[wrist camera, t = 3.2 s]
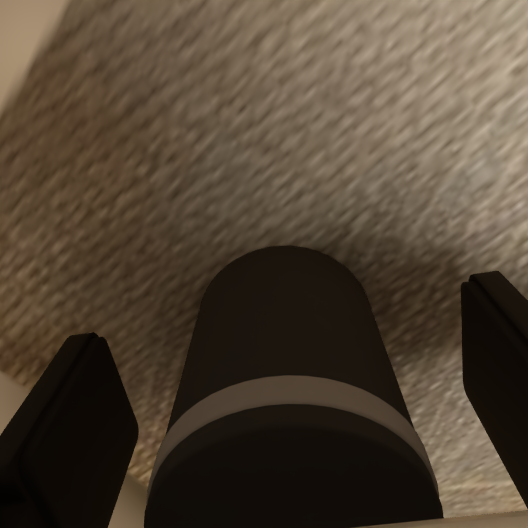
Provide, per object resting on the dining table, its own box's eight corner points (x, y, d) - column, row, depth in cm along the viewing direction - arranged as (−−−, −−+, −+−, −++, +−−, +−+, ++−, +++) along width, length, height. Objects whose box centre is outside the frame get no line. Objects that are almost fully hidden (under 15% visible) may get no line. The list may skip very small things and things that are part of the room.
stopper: (165, 341, 13) (86, 563, 8) (261, 207, 11) (251, 364, 6) (303, 418, 14) (322, 662, 9) (409, 305, 12) (516, 516, 7)
